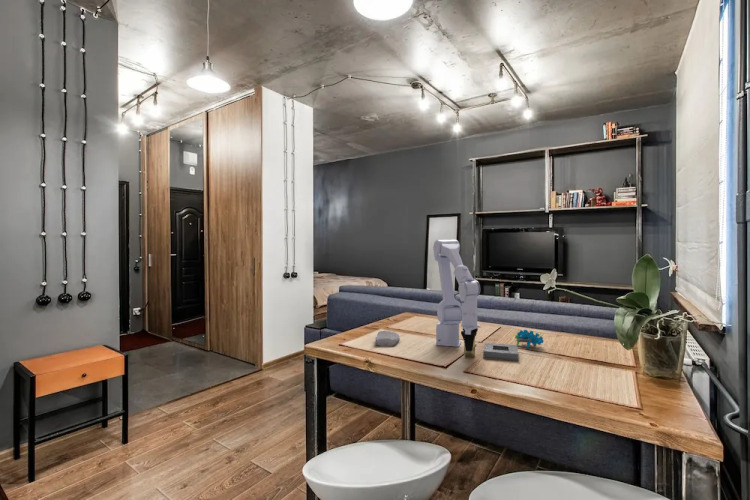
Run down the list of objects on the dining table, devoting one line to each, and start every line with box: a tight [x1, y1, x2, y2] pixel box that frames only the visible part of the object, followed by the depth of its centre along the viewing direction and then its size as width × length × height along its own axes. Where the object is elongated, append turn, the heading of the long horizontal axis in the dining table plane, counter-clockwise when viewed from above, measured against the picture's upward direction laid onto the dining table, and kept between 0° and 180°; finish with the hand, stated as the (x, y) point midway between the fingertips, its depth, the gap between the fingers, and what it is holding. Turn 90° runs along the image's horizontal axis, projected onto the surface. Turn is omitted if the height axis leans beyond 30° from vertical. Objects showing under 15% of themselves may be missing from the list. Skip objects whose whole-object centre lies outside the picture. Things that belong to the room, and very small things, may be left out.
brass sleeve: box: [463, 338, 476, 359], centre depth 135 cm, size 4×4×7 cm
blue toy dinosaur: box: [514, 329, 544, 350], centre depth 145 cm, size 11×6×10 cm
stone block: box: [375, 330, 401, 347], centre depth 155 cm, size 12×5×10 cm
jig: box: [482, 342, 519, 362], centre depth 136 cm, size 12×12×2 cm
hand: (469, 349), depth 135 cm, fingers closed on brass sleeve, 4 cm apart
